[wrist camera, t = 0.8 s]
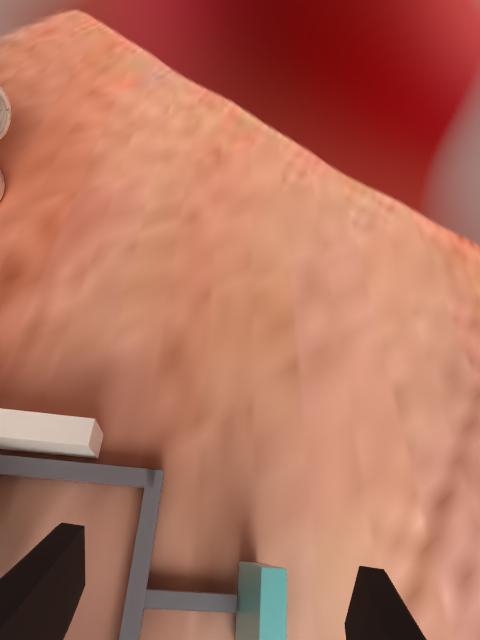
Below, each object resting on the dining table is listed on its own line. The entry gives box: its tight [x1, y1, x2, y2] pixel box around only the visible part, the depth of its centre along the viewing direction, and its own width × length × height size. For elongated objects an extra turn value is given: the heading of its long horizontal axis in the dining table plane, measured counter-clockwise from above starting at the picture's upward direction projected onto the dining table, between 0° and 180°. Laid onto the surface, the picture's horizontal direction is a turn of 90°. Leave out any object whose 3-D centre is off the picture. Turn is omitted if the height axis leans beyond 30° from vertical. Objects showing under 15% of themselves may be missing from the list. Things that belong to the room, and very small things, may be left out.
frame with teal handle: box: [0, 455, 287, 640], centre depth 19 cm, size 13×25×6 cm, turn 86°
